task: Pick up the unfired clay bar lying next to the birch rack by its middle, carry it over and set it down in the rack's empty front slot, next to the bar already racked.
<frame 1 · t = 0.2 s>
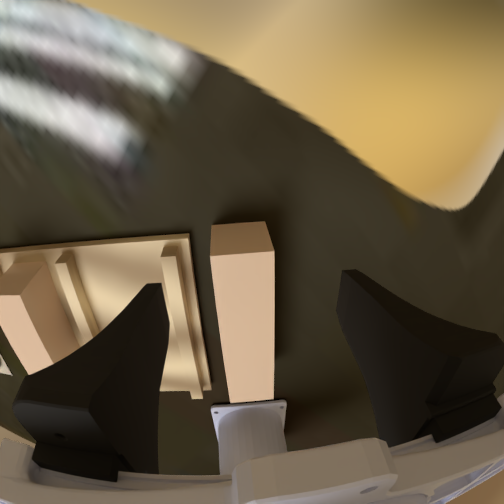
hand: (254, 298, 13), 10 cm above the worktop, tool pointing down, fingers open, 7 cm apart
rack: (96, 325, 25), on the worktop
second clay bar: (56, 330, 24), point 1 cm above the worktop, touching rack
clay bar: (243, 303, 25), on the worktop
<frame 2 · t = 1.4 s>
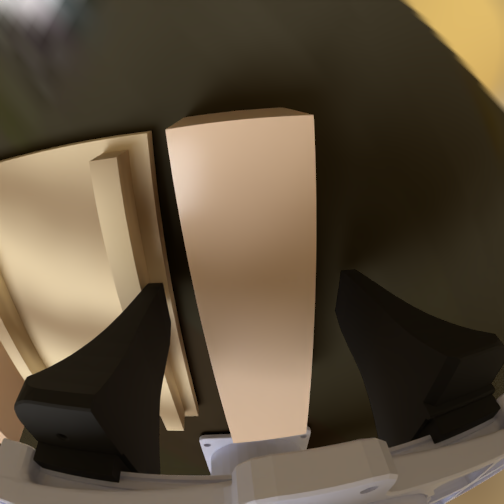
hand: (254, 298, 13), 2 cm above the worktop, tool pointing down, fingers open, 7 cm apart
rack: (20, 309, 14), on the worktop
clay bar: (249, 272, 14), on the worktop
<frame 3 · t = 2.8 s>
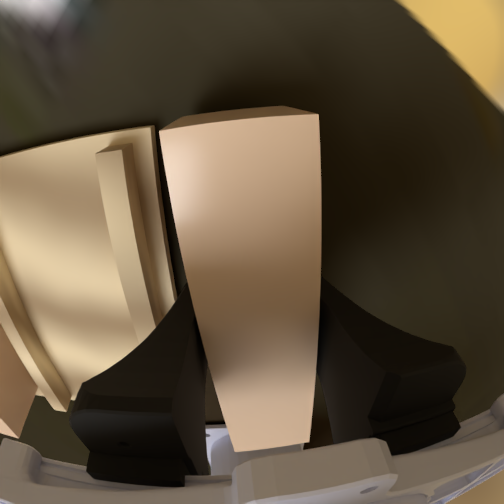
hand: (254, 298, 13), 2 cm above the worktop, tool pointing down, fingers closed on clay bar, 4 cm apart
rack: (24, 299, 15), on the worktop
clay bar: (250, 278, 14), point 1 cm above the worktop, touching gripper
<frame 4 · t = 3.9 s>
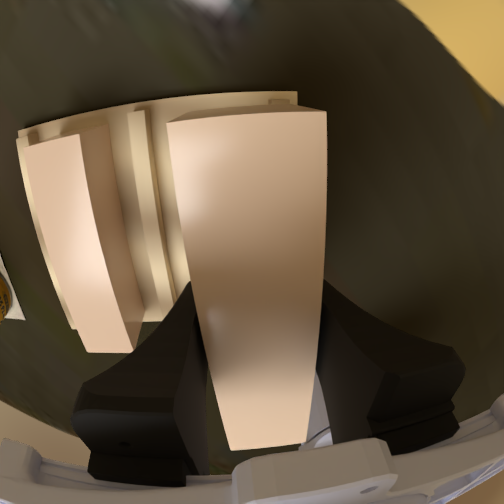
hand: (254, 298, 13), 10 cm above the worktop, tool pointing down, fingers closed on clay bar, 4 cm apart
rack: (158, 220, 21), on the worktop
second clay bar: (101, 230, 20), point 1 cm above the worktop, touching rack
clay bar: (251, 275, 14), point 8 cm above the worktop, touching gripper
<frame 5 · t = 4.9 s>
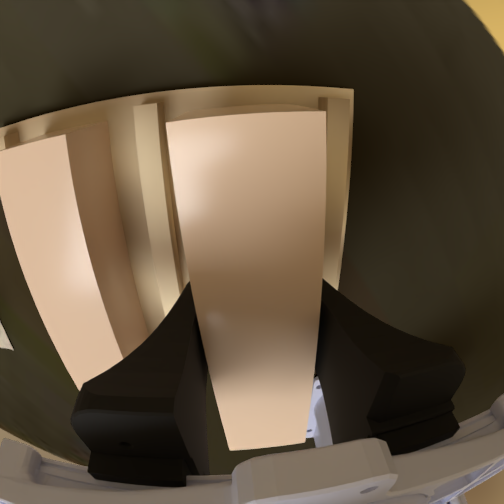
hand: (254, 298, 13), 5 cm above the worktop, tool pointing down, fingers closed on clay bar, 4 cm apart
rack: (170, 245, 17), on the worktop
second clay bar: (98, 256, 16), point 1 cm above the worktop, touching rack
clay bar: (251, 275, 14), point 4 cm above the worktop, touching gripper
when the fingers open (3 cm above the worktop, at t = 5.7 s): clay bar drops 1 cm, resting on rack.
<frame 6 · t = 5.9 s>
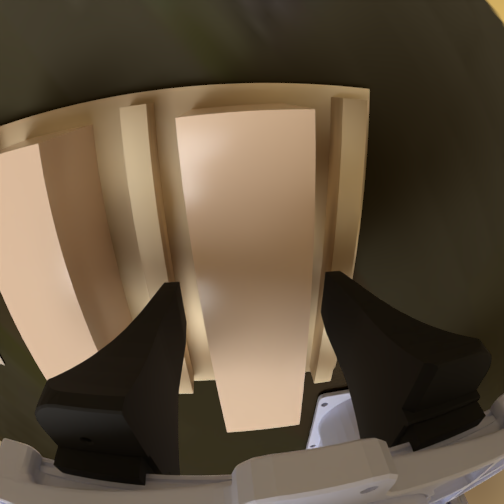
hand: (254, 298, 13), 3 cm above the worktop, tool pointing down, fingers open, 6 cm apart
rack: (165, 261, 15), on the worktop
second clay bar: (86, 274, 14), point 1 cm above the worktop, touching rack
clay bar: (247, 262, 15), point 1 cm above the worktop, touching rack
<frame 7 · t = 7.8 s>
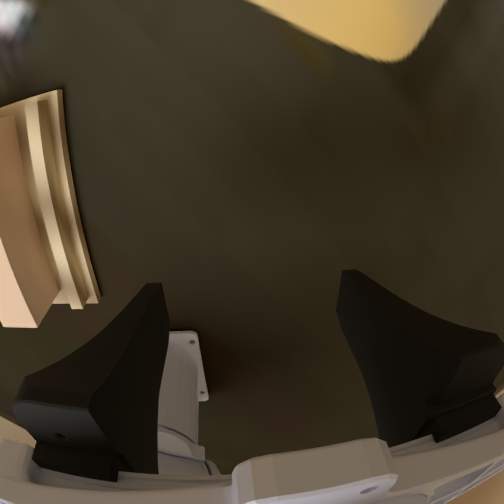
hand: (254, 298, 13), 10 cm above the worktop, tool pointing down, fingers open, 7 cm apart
clay bar: (15, 212, 19), point 1 cm above the worktop, touching rack
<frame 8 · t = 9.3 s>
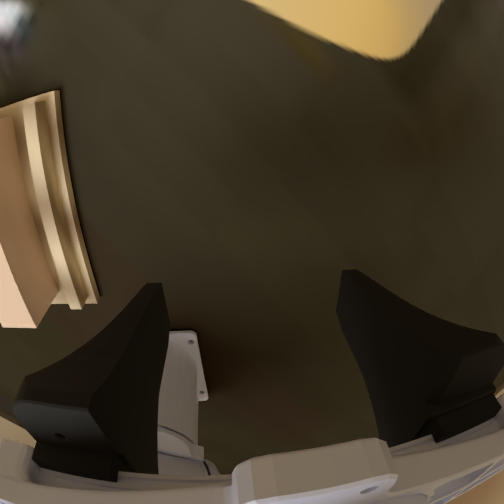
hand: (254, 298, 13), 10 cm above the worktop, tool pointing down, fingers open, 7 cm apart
clay bar: (14, 213, 19), point 1 cm above the worktop, touching rack
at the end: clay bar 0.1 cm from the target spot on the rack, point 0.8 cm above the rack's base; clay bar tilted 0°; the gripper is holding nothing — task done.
